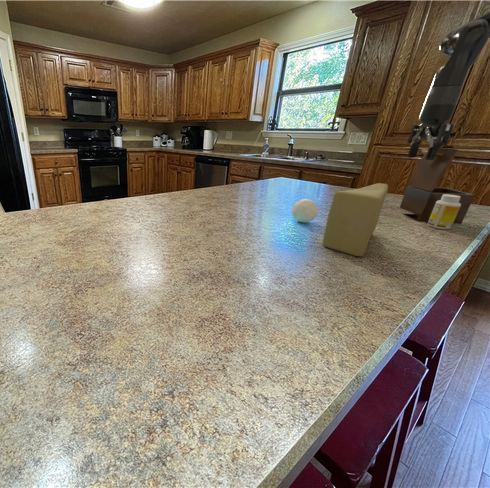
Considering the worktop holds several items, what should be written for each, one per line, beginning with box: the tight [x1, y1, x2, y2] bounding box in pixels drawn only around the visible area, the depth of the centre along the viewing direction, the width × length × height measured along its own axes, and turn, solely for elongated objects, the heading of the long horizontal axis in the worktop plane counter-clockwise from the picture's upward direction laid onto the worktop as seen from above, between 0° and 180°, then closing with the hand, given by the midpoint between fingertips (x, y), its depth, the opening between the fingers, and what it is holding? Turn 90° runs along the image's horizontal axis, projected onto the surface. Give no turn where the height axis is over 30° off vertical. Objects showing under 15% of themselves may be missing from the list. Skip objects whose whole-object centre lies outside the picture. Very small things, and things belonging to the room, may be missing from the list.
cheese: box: [322, 182, 389, 257], centre depth 71 cm, size 22×10×15 cm, turn 128°
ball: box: [291, 198, 319, 224], centre depth 88 cm, size 8×8×8 cm
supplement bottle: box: [426, 194, 461, 230], centre depth 84 cm, size 6×6×10 cm
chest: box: [399, 185, 476, 225], centre depth 93 cm, size 13×12×10 cm
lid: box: [406, 146, 459, 192], centre depth 90 cm, size 13×12×5 cm
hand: (419, 158), depth 89 cm, fingers open, 8 cm apart
